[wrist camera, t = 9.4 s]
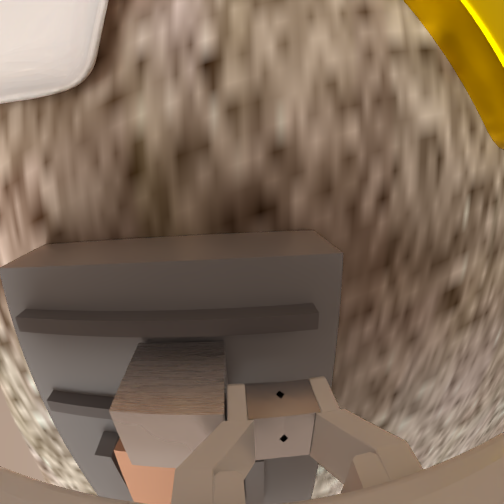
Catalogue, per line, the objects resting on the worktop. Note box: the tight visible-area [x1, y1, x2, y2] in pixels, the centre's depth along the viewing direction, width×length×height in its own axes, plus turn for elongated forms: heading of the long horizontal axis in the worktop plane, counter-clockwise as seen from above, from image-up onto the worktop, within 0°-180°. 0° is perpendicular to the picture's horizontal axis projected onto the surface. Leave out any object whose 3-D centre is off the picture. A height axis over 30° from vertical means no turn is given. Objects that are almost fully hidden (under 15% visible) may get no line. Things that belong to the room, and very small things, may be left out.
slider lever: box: [109, 341, 228, 468], centre depth 9 cm, size 2×3×4 cm
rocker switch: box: [114, 438, 176, 504], centre depth 11 cm, size 7×5×1 cm
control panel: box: [0, 230, 343, 504], centre depth 14 cm, size 22×13×6 cm, turn 2°
